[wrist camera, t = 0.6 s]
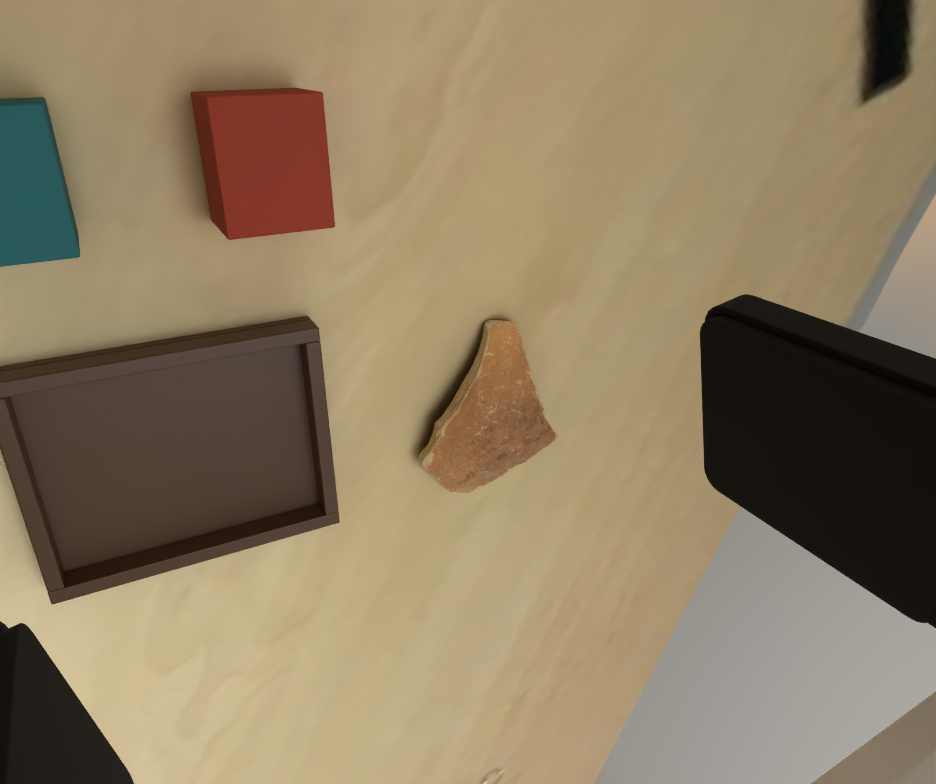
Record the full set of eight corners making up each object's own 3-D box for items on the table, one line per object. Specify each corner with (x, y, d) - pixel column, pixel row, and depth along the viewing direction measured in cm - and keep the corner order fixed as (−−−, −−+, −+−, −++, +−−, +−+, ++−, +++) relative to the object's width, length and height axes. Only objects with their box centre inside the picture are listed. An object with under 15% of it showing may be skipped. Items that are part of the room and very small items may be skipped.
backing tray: (-17, 369, 35) (-21, 385, 33) (308, 315, 41) (319, 327, 39) (52, 581, 40) (51, 605, 38) (329, 505, 46) (339, 522, 44)
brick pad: (190, 91, 34) (205, 96, 30) (296, 87, 36) (323, 91, 32) (211, 221, 37) (228, 240, 33) (309, 210, 39) (335, 227, 35)
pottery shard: (498, 306, 46) (518, 318, 44) (567, 394, 52) (588, 408, 50) (380, 424, 46) (395, 441, 44) (462, 501, 51) (479, 520, 49)
